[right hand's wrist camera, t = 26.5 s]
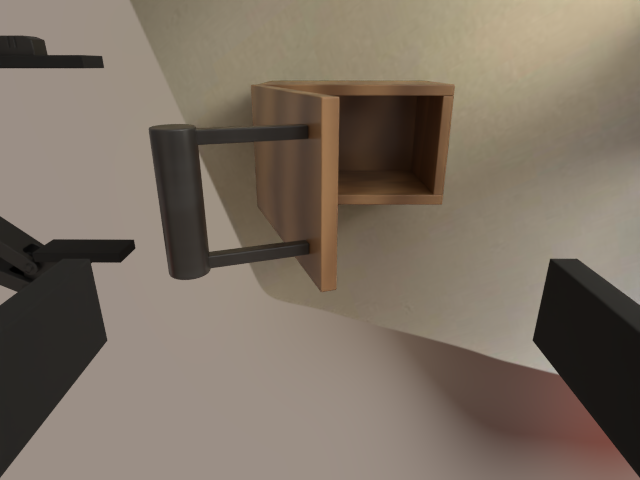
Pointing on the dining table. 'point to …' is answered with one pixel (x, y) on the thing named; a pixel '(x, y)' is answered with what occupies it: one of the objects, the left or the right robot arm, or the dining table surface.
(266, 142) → the lid
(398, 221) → the dining table surface
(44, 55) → the left robot arm
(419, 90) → the chest
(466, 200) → the dining table surface
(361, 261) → the dining table surface
